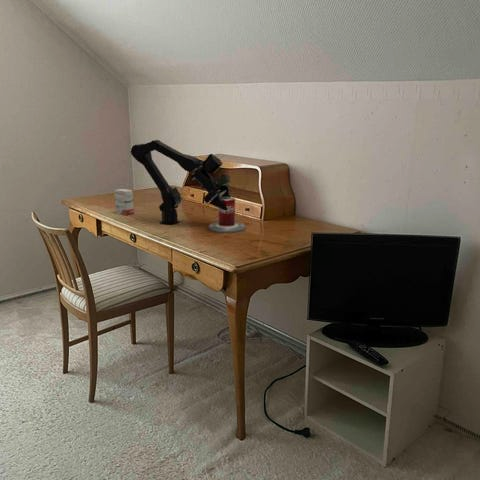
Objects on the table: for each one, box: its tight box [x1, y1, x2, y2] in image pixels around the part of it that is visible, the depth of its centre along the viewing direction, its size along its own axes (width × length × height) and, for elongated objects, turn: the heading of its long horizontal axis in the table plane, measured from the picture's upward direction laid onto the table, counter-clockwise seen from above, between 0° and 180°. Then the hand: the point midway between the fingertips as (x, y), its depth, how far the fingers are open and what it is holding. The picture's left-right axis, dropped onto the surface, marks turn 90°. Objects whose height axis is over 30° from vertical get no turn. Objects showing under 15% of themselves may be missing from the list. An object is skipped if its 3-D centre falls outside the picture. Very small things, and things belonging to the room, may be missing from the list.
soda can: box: [217, 196, 236, 227], centre depth 218 cm, size 7×7×12 cm
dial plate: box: [208, 221, 246, 234], centre depth 219 cm, size 16×16×1 cm
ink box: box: [114, 188, 135, 216], centre depth 243 cm, size 9×5×12 cm, turn 53°
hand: (230, 207), depth 217 cm, fingers open, 9 cm apart
